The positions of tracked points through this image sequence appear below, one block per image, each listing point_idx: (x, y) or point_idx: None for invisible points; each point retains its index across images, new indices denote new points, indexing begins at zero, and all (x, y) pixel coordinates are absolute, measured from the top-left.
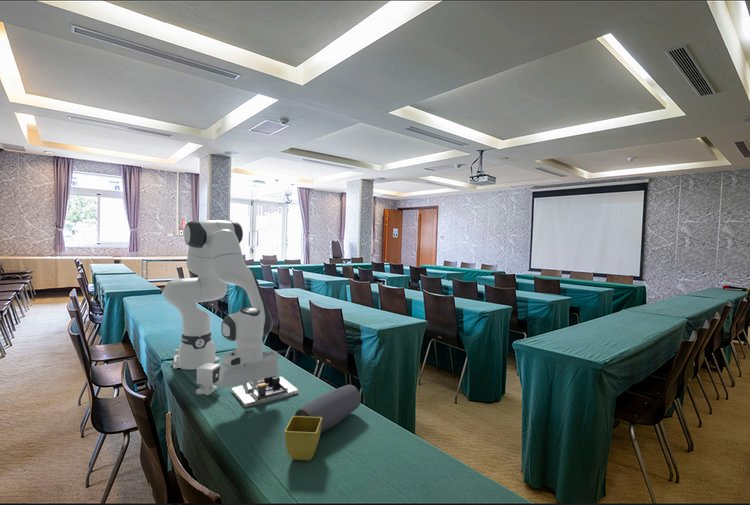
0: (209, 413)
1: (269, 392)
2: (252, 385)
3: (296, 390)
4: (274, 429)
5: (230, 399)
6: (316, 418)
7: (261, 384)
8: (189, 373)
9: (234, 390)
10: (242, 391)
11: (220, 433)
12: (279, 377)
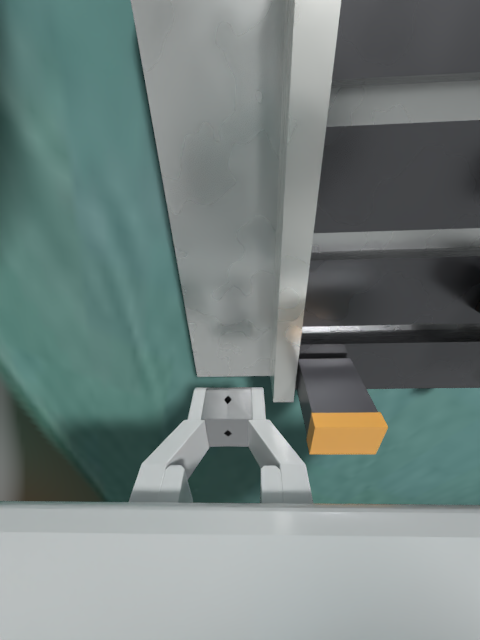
0: (6, 327)
1: (381, 366)
2: (256, 443)
3: None
4: (250, 498)
5: (124, 197)
6: None
7: (339, 445)
8: None
9: (153, 82)
10: (229, 172)
11: (88, 462)
12: None
